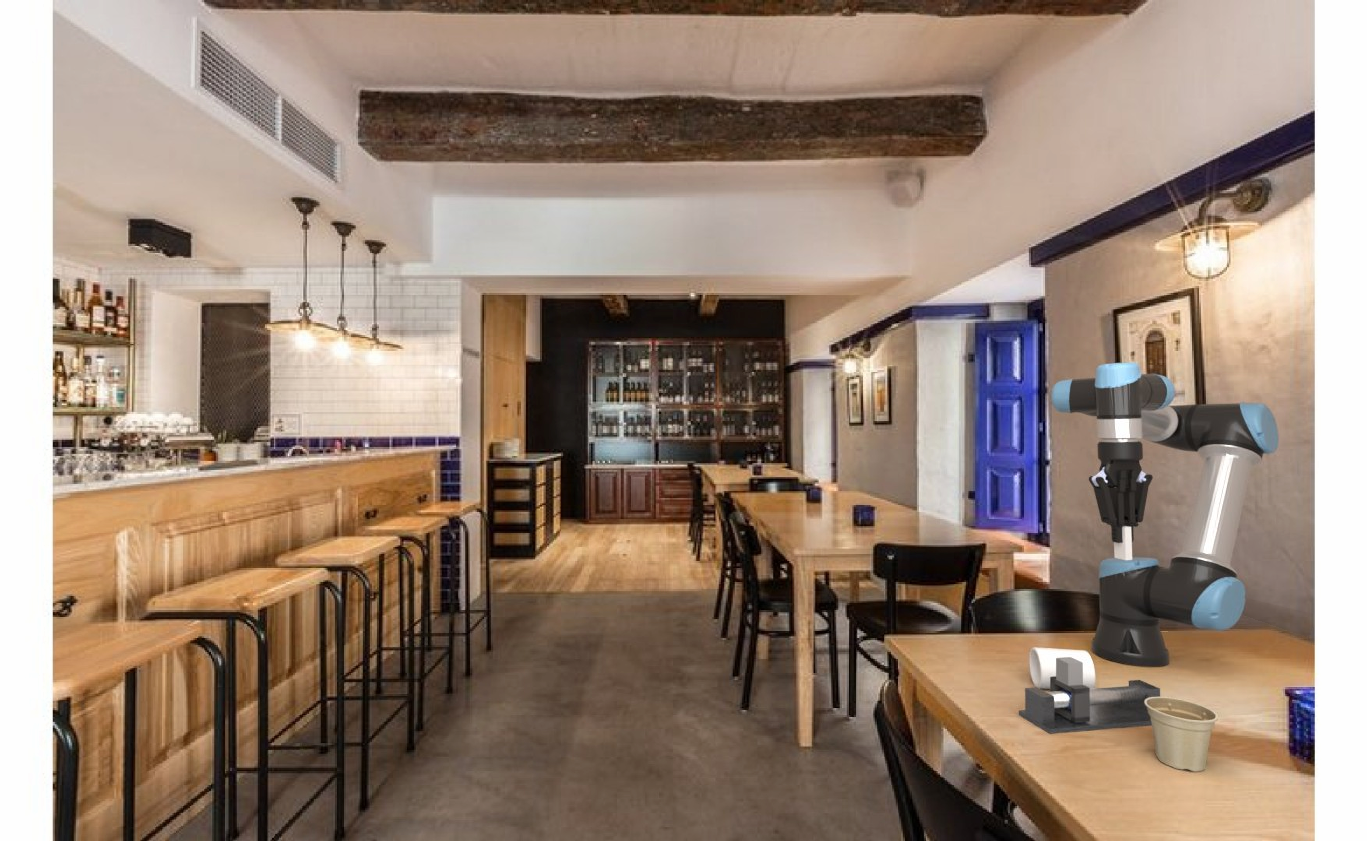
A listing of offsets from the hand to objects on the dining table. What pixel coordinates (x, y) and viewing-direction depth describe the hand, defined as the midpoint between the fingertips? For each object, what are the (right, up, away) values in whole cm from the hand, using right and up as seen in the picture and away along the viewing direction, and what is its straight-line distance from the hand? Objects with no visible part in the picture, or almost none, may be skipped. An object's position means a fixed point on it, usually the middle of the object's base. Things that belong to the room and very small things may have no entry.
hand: (1123, 558), depth 131 cm
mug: (-9, -28, +6) cm, 30 cm away
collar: (-17, -27, -11) cm, 34 cm away
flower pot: (-9, -27, -27) cm, 39 cm away
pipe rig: (-13, -27, -10) cm, 32 cm away
